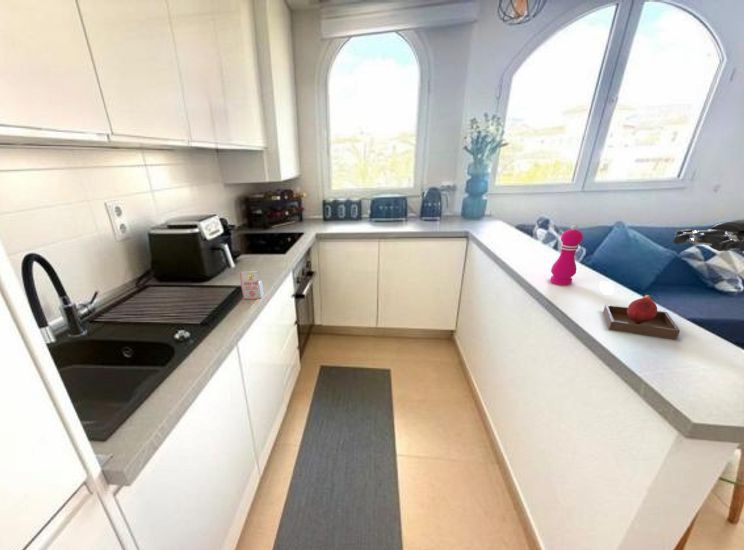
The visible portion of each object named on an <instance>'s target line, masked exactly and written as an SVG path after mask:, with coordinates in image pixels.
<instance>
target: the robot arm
mask: <svg viewBox="0 0 744 550" xmlns="http://www.w3.org/2000/svg"><path fill="white" fill-rule="evenodd" d="M685 243H690V244H691V245H705V246H709V248H711V249H712V250H715V251H717V252H729V251H736V250H737V249H738V250H739V252H744V218H738V219H734V220H728V221H724V222H723V221H722V222H720V223H717V224H715V225H714V226H712V227H711V228H709V229H707V230H701V229H700V230H699V229H698V230H696V229H695V228H691V227H690V228H686V229H680V230H676V232H675V235H674V238H673V245H680V244H685Z"/></svg>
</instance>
